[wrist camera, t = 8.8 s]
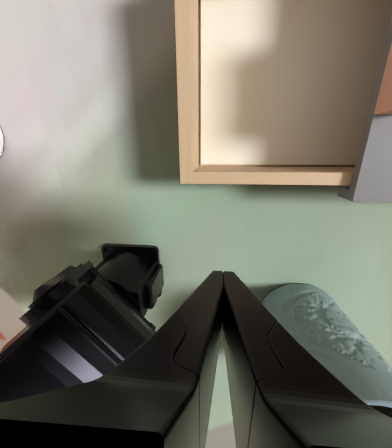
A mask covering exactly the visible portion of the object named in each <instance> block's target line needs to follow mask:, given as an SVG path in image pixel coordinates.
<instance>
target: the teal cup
mask: <svg viewBox="0 0 392 448" xmlns="http://www.w3.org/2000/svg"><path fill="white" fill-rule="evenodd" d="M262 304H263V305H264V306H265V307H266V308H267V309H268V311H269V312H270V313H271V314H272V315H273V316H274V317H275V318H276V319H277V320H278V322H279V323H280V324H281V325H282V326H283V327H284V328H285V329H286V330H287V331H288V332H289V333H290V334H291V335H292V336H293V337H294V339H295V340H296V341H297V342H298V343H299V344H301V345H302V346H303V347H304V348H305V349H306V350H307V351H308V352H309V353H310V354H311V355H312V356H313V357H314V358H315V359H317V360H318V361H319V362H320V363H321V364H322V365H323V366H324V367H325V368H326V369H328V370H329V371H330V372H331V373H332V374H333V375H334V376H335V377H336V378H337V379H339V380H340V381H341V382H342V383H343V384H344V385H345V386H346V387H347V388H349V389H350V390H351V391H352V392H353V393H354V394H355V395H356V396H358V397H359V398H360V399H361V400H363V401H364V402H365V403H367V404H368V405H369V406H371V407H372V408H374V409H375V410H377V411H378V412H380V413H382V414H384V415H386V416H388V417H390V418H392V371H391V368H390V365H389V364H388V363H387V362H386V361H385V359H384V358H383V357H382V356H381V354H380V353H379V352H377V351H376V349H375V348H374V347H373V346H372V344H371V343H369V342H368V341H367V339H366V338H365V337H364V336H363V335H362V334H361V333H360V332H359V330H358V328H357V327H356V326H355V325H354V324H353V323H352V322H351V321H350V320H349V318H348V317H347V316H346V315H345V314H344V313H343V311H342V310H341V309H340V308H339V306H338V305H337V304H336V303H335V301H334V300H333V299H332V298H331V297H330V296H329V295H328V294H327V293H326V292H324V291H323V290H321V289H319V288H317V287H315V286H313V285H309V284H301V283H294V284H287V285H284V286H281V287H278V288H276V289H275V290H273V291H271V292H270V293H269V294H268V295H267V296H266V297H265V298H264V299H263V301H262Z"/></svg>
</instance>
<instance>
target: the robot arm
mask: <svg viewBox="0 0 392 448" xmlns="http://www.w3.org/2000/svg"><path fill="white" fill-rule="evenodd" d="M106 248H107V249H108V250H107V249H106ZM152 250H155V251H156V252H153V251H152ZM102 254H103V261H102V262H101V263H100V264H99V265H97V266H96V267H95V268H94V267H93V264H92V263H91V262H90V261H88V262H87V263H85V264H84V265H83V264H82V263H81V264H80V265H79V266H78V267H73V266H69V267H67V268H66V269H65V270H63V271H62V272H61V273H59V274H58V275H57V276H55V277H54V278H52V279H51V280H49V281H47V282H46V283H44V284H43V285H41V286H40V287H39V288H38V289H36V290H35V291H34V297H33V303H32V304H31V305H30V306H28V308H29V309H30V310H29V311H28V312H26V313H25V314H24V315H23V316H22V317H20V318H19V319H20V320H21V321H22V322H24V323H25V324H26V325H27V326H26V327H25V328H24V329H23V330H22V331H20V332H19V333H18V334H17V335H16V336H15V337H14V338H12V339H11V340H10V341H9V342H8V343H7V344H6V345H5V346H4V347H3V348H2V350H1V351H0V448H205V444H206V437H207V430H208V423H209V415H210V408H211V401H212V394H213V387H214V380H215V372H216V365H217V358H218V351H219V344H220V337H221V329H222V330H223V339H224V348H225V356H226V364H227V373H228V381H229V390H230V398H231V407H232V415H233V424H234V432H235V441H236V448H392V418H390V417H388V416H386V415H384V414H382V413H380V412H378V411H377V410H375V409H374V408H372V407H371V406H369V405H368V404H367V403H365V402H364V401H363V400H361V399H360V398H359V397H358V396H356V395H355V394H354V393H353V392H352V391H351V390H350V389H349V388H347V387H346V386H345V385H344V384H343V383H342V382H341V381H340V380H339V379H337V378H336V377H335V376H334V375H333V374H332V373H331V372H330V371H329V370H328V369H326V368H325V367H324V366H323V365H322V364H321V363H320V362H319V361H318V360H317V359H315V358H314V357H313V356H312V355H311V354H310V353H309V352H308V351H307V350H306V349H305V348H304V347H303V346H302V345H301V344H299V343H298V342H297V341H296V340H295V339H294V337H293V336H292V335H291V334H290V333H289V332H288V331H287V330H286V329H285V328H284V327H283V326H282V325H281V324H280V323H279V322H278V320H277V319H276V318H275V317H274V316H273V315H272V314H271V313H270V312H269V311H268V309H267V308H266V307H265V306H264V305H263V304H262V303H261V302H260V301H259V300H258V298H257V297H256V296H255V295H254V294H253V293H252V292H251V291H250V290H249V289H248V288H247V286H246V285H245V284H244V283H243V282H242V281H241V280H240V279H239V278H238V277H237V275H236V274H235V273H234V272H229V271H224V272H222V271H213V272H212V273H211V274H210V275H209V276H208V277H207V278H206V279H205V280H204V281H203V282H202V284H201V285H200V286H199V287H198V288H197V289H196V290H195V291H194V292H193V293H192V294H191V296H190V297H189V298H188V299H187V300H186V301H185V302H184V303H183V304H182V305H181V307H180V308H179V309H178V310H177V311H176V312H175V314H173V315H172V316H171V317H170V318H169V319H168V321H167V322H166V323H165V324H164V325H163V326H162V327H161V328H160V329H159V330H158V331H156V332H155V326H154V325H153V324H152V323H149V322H148V321H147V320H146V319H145V318H144V316H145V314H146V312H147V310H148V309H152V308H153V307H154V305H155V303H156V301H157V298H158V297H160V296H161V293H162V287H163V284H164V281H163V267H162V265H161V264H160V259H159V249H158V248H157V247H156V246H141V245H118V244H105V245H104V246H103V247H102Z"/></svg>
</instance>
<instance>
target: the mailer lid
mask: <svg viewBox="0 0 392 448" xmlns="http://www.w3.org/2000/svg"><path fill="white" fill-rule="evenodd" d="M338 196H340V197H343V198H345V199H348V200H351V201H362V202H392V11H391V16H390V20H389V24H388V28H387V33H386V37H385V41H384V45H383V50H382V54H381V58H380V62H379V67H378V71H377V75H376V79H375V84H374V88H373V92H372V96H371V101H370V105H369V109H368V113H367V118H366V122H365V126H364V130H363V135H362V139H361V143H360V147H359V152H358V156H357V160H356V164H355V169H354V173H353V177H352V181H351V186H350V187H339V190H338Z"/></svg>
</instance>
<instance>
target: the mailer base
mask: <svg viewBox="0 0 392 448" xmlns="http://www.w3.org/2000/svg"><path fill="white" fill-rule="evenodd" d="M391 11H392V0H175V31H176V63H177V95H178V127H179V160H180V184H267V185H351V181H352V177H353V173H354V169H355V164H356V160H357V156H358V152H359V147H360V143H361V139H362V135H363V130H364V126H365V122H366V118H367V113H368V109H369V105H370V101H371V96H372V92H373V88H374V84H375V79H376V75H377V71H378V67H379V62H380V58H381V54H382V50H383V45H384V41H385V37H386V33H387V28H388V24H389V20H390V16H391Z"/></svg>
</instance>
